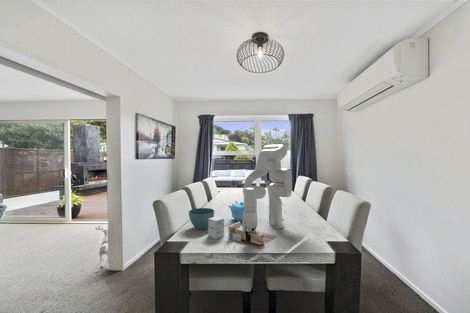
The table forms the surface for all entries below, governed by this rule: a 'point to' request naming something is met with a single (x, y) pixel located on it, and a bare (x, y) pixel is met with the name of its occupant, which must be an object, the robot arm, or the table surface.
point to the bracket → (232, 234)
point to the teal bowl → (201, 217)
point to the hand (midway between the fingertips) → (250, 239)
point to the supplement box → (216, 227)
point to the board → (266, 239)
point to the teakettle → (237, 211)
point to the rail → (255, 236)
